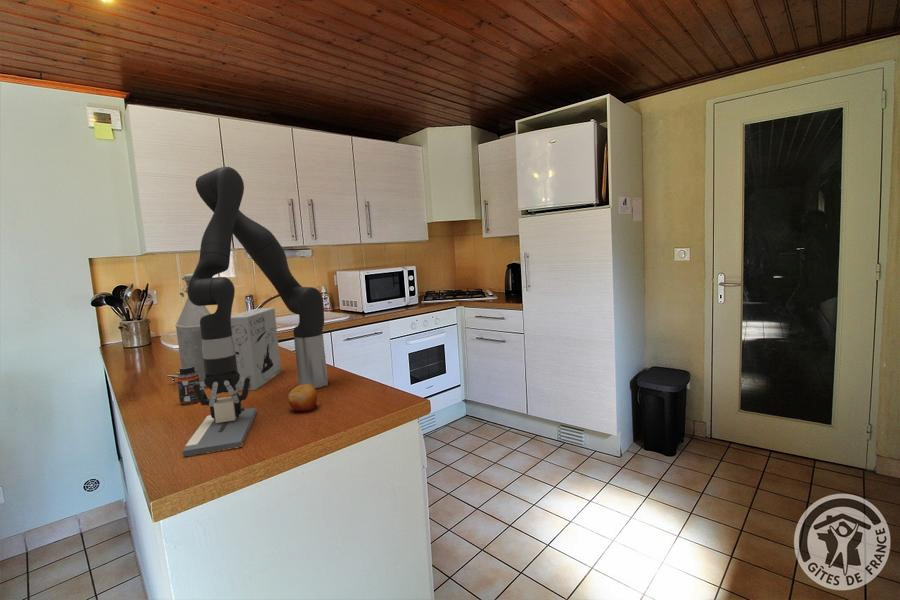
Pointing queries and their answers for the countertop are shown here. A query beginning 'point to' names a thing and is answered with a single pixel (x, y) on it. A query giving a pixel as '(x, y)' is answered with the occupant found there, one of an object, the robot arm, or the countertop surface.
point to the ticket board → (220, 434)
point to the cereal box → (256, 346)
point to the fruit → (303, 398)
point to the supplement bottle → (187, 385)
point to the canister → (191, 334)
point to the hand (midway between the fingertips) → (227, 417)
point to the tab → (224, 410)
